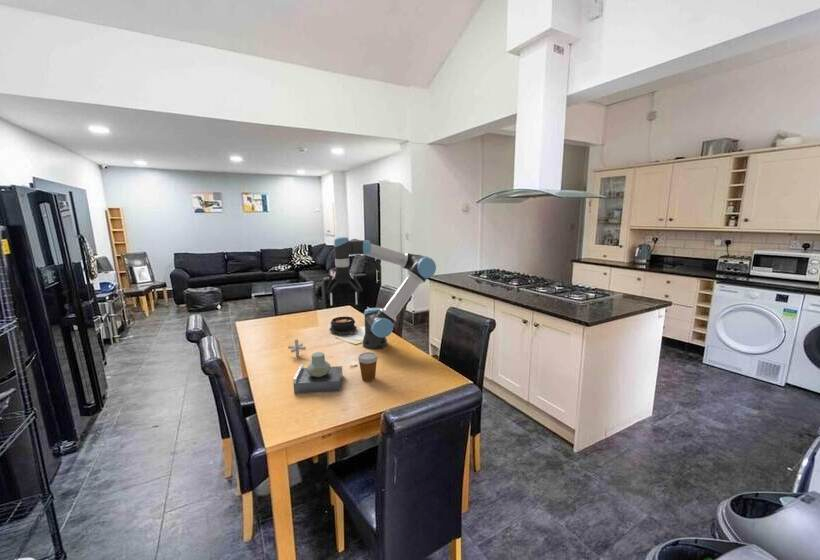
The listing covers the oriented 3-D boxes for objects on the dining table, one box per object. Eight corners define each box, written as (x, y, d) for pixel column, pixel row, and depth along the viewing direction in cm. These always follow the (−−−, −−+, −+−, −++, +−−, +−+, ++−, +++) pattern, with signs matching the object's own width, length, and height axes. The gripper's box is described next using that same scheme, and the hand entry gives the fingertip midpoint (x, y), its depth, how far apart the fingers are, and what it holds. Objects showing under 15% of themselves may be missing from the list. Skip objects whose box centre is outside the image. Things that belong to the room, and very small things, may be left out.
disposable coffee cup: (370, 385, 164) (369, 361, 162) (354, 380, 169) (353, 357, 167) (382, 377, 172) (381, 354, 170) (367, 372, 177) (366, 350, 175)
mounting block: (342, 375, 174) (342, 362, 173) (339, 391, 158) (338, 377, 157) (301, 377, 172) (300, 364, 171) (294, 393, 156) (293, 379, 155)
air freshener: (306, 379, 159) (305, 359, 157) (307, 372, 167) (305, 352, 165) (331, 376, 162) (330, 356, 160) (330, 369, 170) (329, 349, 168)
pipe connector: (301, 360, 193) (300, 343, 191) (284, 358, 195) (283, 341, 193) (309, 353, 203) (308, 337, 201) (294, 352, 205) (292, 335, 203)
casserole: (325, 328, 248) (324, 316, 247) (350, 324, 257) (349, 313, 256) (335, 338, 227) (334, 326, 225) (362, 334, 235) (361, 322, 234)
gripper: (317, 267, 182) (319, 307, 186) (365, 266, 184) (366, 305, 188) (319, 265, 189) (321, 303, 193) (365, 264, 192) (367, 302, 196)
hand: (344, 304), depth 191 cm, fingers open, 13 cm apart
